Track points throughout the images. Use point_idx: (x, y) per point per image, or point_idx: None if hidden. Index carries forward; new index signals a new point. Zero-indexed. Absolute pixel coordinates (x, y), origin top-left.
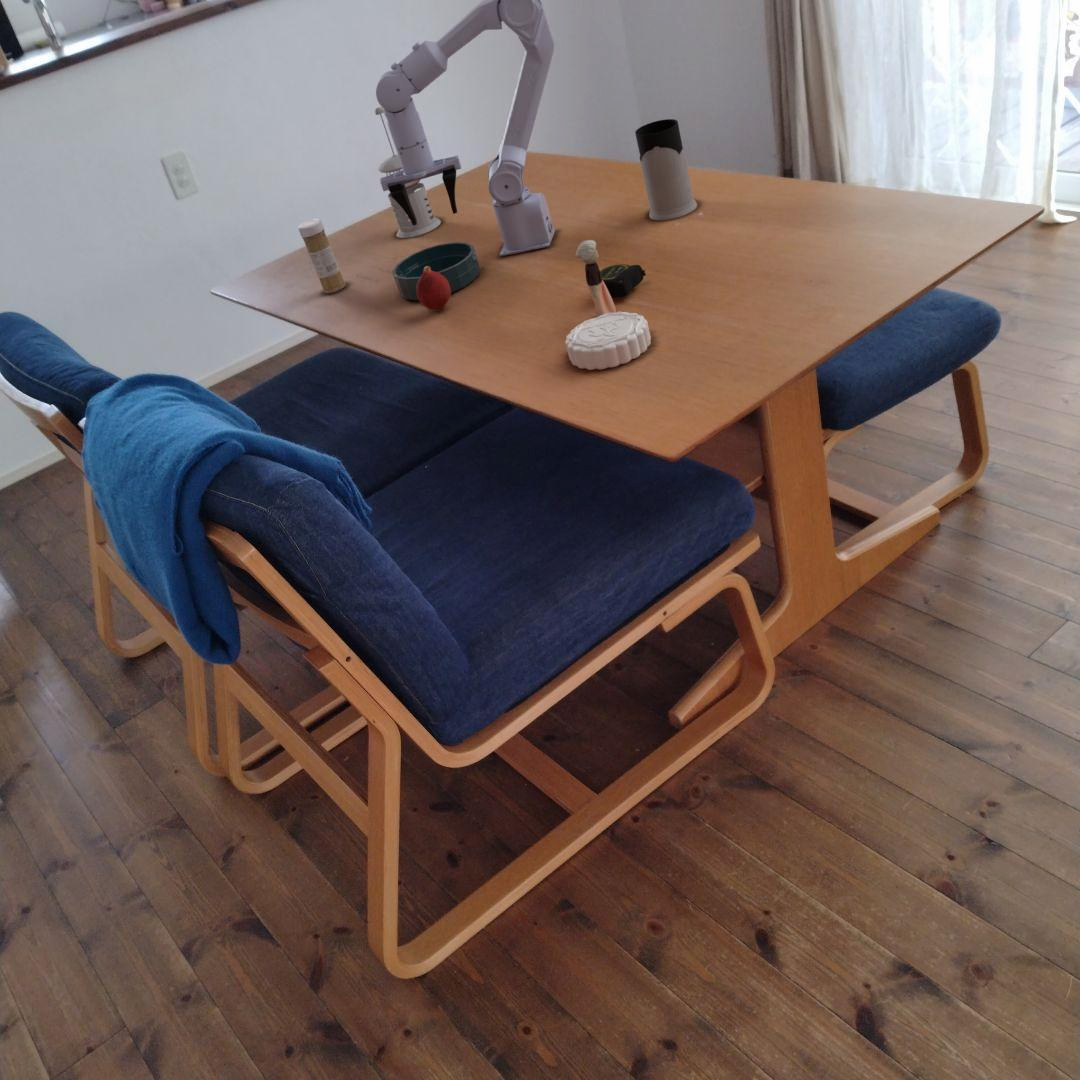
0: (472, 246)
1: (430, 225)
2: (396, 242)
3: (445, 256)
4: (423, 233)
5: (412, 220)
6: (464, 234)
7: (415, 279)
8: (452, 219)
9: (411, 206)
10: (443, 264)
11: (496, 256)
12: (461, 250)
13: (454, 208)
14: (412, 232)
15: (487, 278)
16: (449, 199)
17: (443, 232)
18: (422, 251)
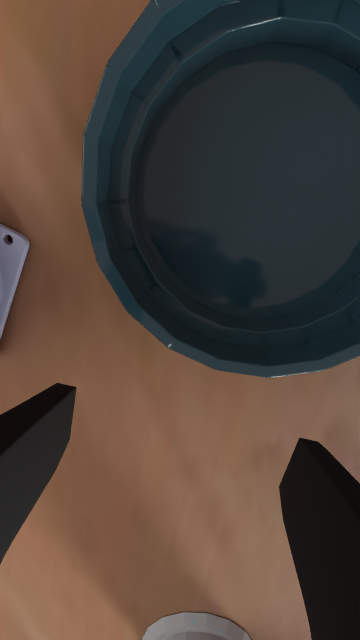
0: (85, 185)
1: (170, 631)
2: (267, 623)
3: (201, 320)
4: (196, 613)
5: (327, 456)
6: (105, 519)
7: None
8: (115, 626)
9: (300, 586)
10: (216, 315)
11: (44, 264)
12: (137, 286)
13: (46, 393)
14: (220, 632)
15: (103, 60)
16: (26, 431)
17: (151, 578)
18: (281, 363)
